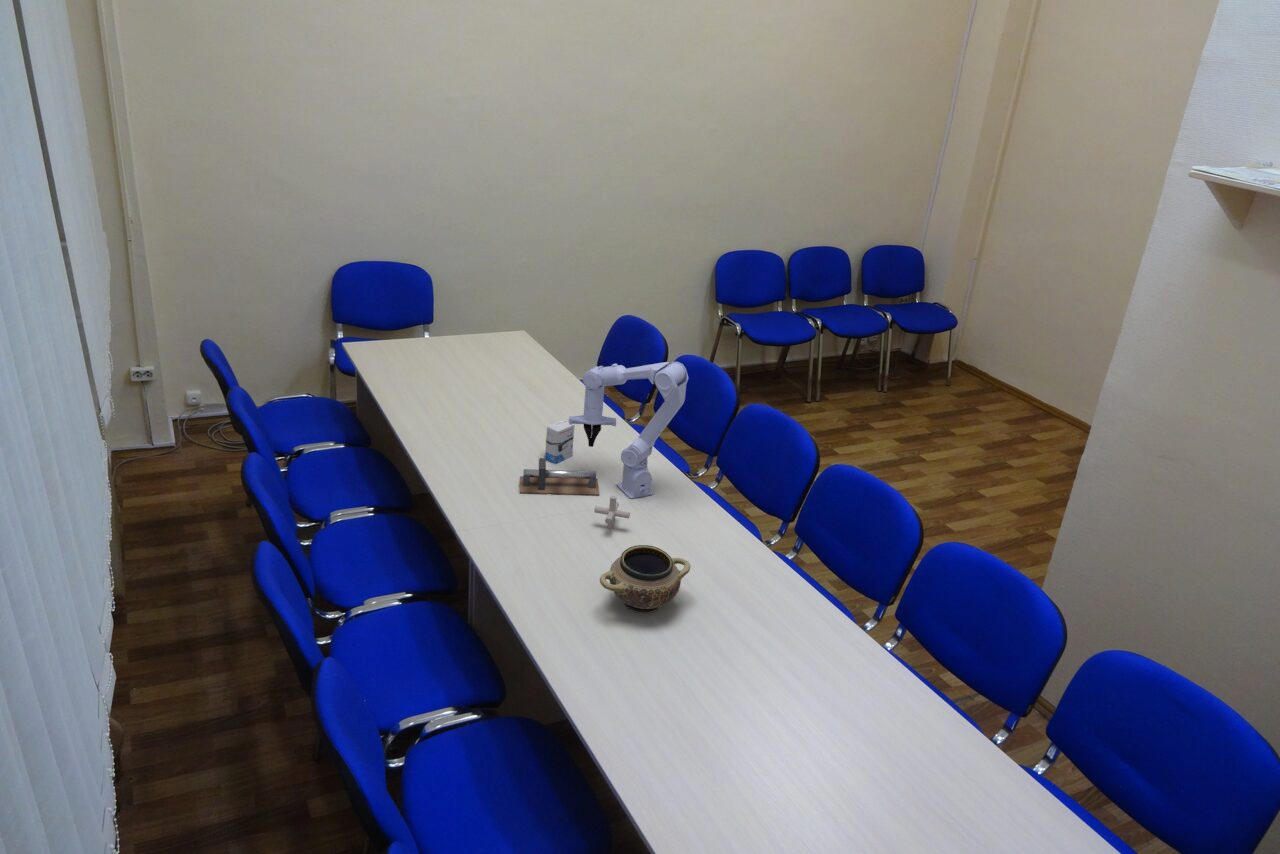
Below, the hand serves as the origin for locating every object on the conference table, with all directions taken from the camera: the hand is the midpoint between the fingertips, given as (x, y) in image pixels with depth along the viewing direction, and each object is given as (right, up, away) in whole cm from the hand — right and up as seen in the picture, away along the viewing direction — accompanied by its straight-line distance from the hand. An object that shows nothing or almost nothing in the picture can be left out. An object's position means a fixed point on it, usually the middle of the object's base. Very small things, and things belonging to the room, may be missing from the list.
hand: (590, 445), depth 287 cm
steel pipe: (-9, -13, -4) cm, 16 cm away
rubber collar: (-15, -12, -5) cm, 20 cm away
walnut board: (-9, -13, -4) cm, 16 cm away
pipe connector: (+7, -23, -23) cm, 34 cm away
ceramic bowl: (+16, -39, -55) cm, 69 cm away
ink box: (-11, -5, +13) cm, 18 cm away
